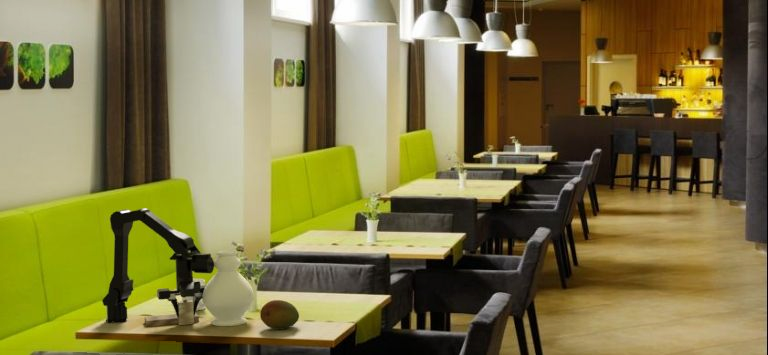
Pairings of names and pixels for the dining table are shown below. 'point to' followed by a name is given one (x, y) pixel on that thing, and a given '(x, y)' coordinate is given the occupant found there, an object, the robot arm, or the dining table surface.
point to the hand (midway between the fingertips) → (185, 316)
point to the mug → (201, 304)
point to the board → (165, 320)
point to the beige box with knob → (185, 312)
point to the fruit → (279, 314)
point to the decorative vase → (227, 291)
